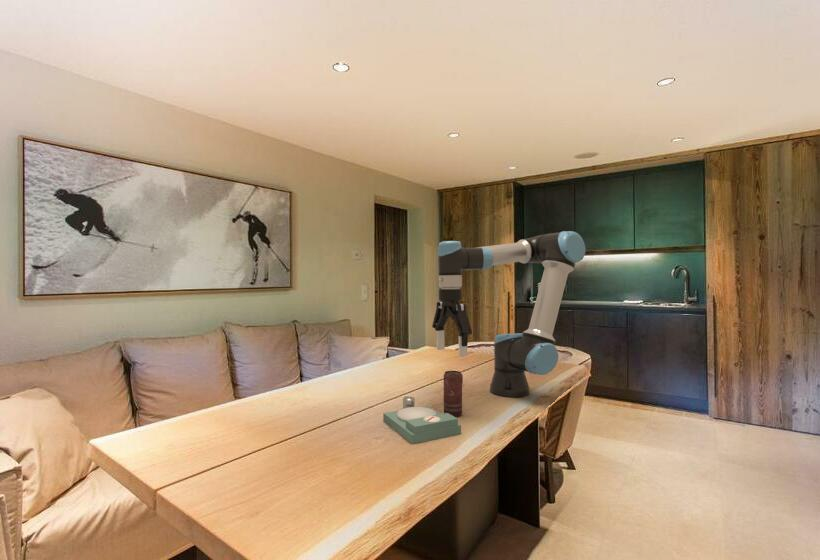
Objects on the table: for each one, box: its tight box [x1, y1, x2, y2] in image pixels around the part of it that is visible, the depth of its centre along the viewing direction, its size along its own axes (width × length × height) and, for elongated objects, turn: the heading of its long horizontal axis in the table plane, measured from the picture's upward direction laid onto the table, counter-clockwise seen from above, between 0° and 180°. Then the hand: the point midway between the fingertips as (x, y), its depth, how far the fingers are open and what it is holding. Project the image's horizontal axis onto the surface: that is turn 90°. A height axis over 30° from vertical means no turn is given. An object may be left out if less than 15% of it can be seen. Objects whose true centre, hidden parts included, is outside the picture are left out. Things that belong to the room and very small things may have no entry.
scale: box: [383, 405, 462, 445], centre depth 123 cm, size 16×20×5 cm
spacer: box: [402, 396, 416, 409], centre depth 139 cm, size 4×4×4 cm
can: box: [443, 370, 464, 418], centre depth 134 cm, size 6×6×14 cm
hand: (451, 352), depth 133 cm, fingers open, 13 cm apart
